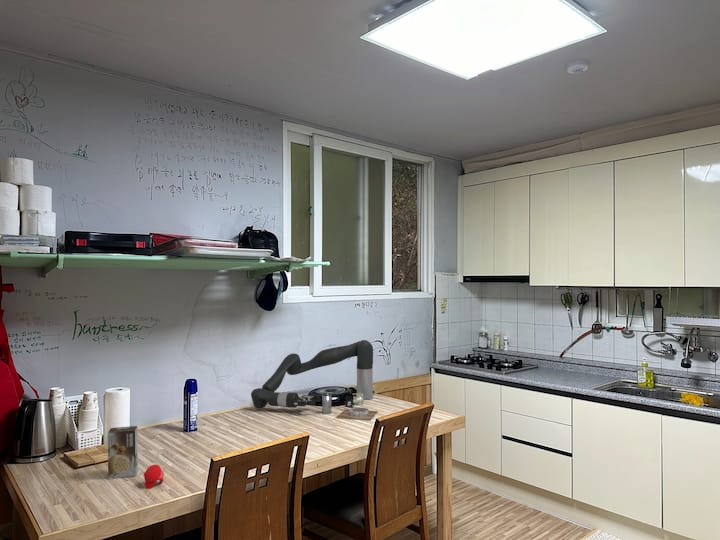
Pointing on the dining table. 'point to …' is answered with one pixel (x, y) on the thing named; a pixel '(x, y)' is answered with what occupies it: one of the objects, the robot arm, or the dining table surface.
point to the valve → (355, 400)
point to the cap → (153, 476)
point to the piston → (326, 403)
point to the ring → (359, 412)
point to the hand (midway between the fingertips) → (317, 401)
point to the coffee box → (122, 452)
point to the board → (346, 415)
